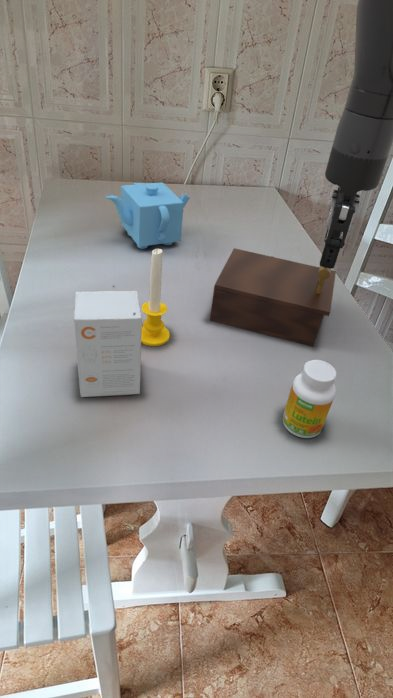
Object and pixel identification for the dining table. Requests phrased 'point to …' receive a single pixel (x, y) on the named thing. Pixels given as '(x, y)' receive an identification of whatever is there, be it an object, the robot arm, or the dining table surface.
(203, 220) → the dining table surface
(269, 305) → the chest
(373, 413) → the dining table surface
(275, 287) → the lid
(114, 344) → the small box
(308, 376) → the supplement bottle
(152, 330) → the candle
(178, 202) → the teapot
